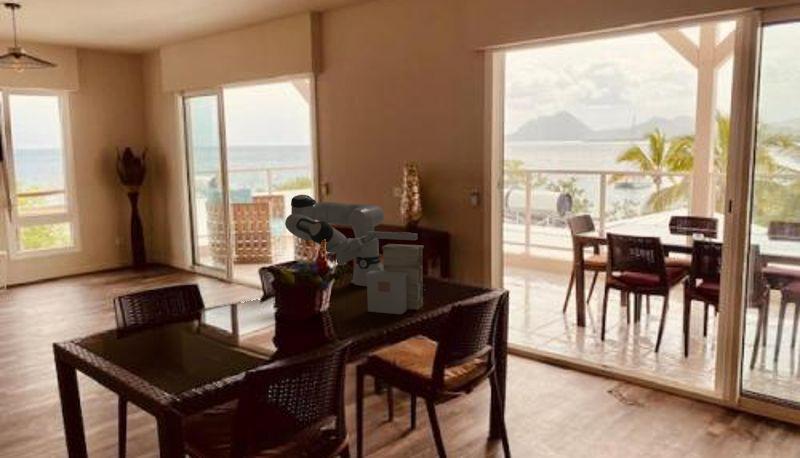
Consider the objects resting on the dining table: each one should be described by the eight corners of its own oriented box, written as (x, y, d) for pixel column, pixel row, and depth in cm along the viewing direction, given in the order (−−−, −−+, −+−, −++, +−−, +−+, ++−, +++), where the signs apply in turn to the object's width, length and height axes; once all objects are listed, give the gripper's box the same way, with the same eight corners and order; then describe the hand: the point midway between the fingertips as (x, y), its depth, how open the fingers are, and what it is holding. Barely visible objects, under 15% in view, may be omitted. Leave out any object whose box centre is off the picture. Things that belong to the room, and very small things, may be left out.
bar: (366, 237, 258) (366, 231, 258) (369, 236, 261) (369, 230, 261) (415, 240, 251) (415, 233, 250) (417, 239, 254) (417, 232, 253)
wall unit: (389, 302, 264) (388, 244, 261) (424, 305, 259) (423, 245, 256) (382, 307, 257) (381, 246, 254) (418, 310, 252) (417, 248, 248)
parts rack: (372, 307, 257) (371, 270, 255) (408, 310, 252) (407, 272, 249) (366, 311, 251) (365, 273, 248) (402, 314, 245) (401, 276, 243)
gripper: (336, 245, 254) (362, 230, 249) (356, 238, 273) (381, 224, 268) (344, 259, 253) (370, 243, 248) (363, 251, 272) (388, 236, 267)
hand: (375, 233), depth 258 cm, fingers closed on bar, 3 cm apart
